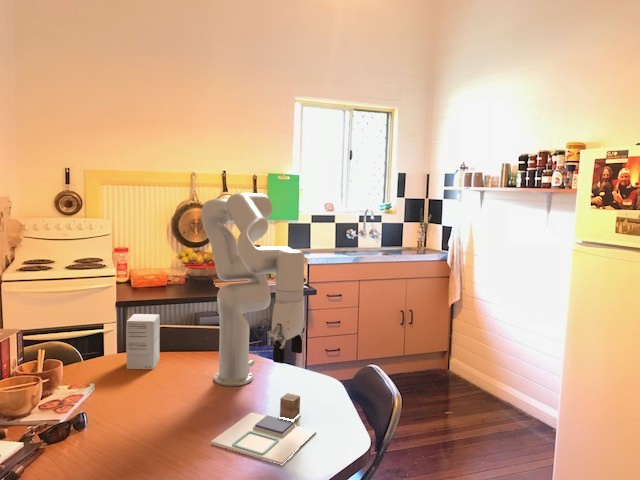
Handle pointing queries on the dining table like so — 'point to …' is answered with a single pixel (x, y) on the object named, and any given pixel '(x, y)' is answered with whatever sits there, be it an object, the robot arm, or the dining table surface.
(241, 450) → the board
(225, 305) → the robot arm
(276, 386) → the dining table surface
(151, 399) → the dining table surface
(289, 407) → the stamp
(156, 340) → the supplement box
